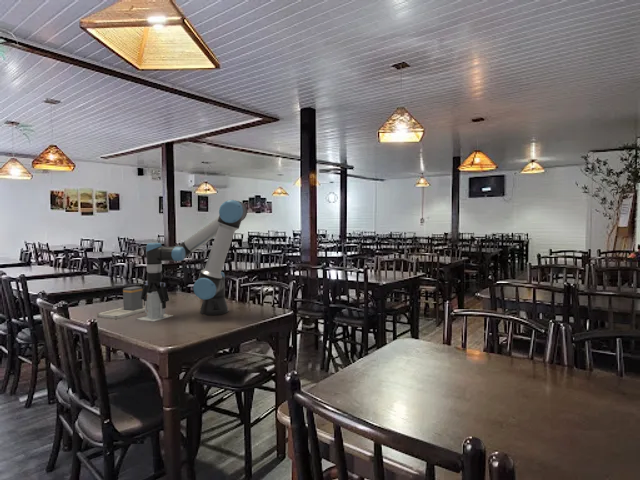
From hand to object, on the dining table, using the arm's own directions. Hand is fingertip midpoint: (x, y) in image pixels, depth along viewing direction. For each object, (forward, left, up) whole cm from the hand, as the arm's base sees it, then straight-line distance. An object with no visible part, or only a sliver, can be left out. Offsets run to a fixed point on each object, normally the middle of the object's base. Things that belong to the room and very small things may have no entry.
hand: (155, 313), depth 224 cm
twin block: (+23, -7, -2) cm, 24 cm away
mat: (0, 0, -2) cm, 2 cm away
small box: (0, 0, -2) cm, 2 cm away
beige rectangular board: (+23, -1, -2) cm, 23 cm away
